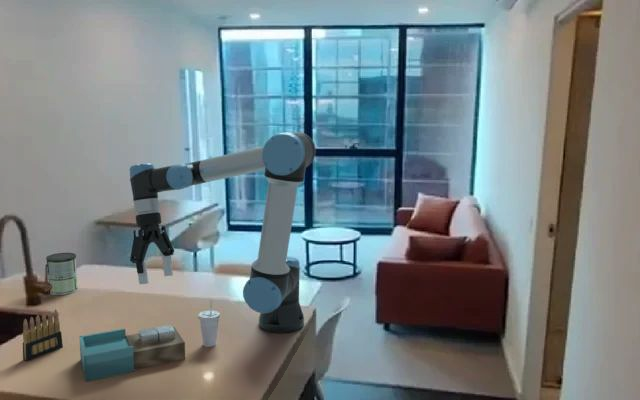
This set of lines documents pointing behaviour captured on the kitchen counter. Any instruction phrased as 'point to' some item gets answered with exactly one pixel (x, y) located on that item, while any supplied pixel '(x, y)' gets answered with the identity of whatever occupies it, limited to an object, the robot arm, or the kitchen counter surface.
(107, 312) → the kitchen counter surface
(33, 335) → the ammunition clip
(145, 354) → the olive-brown boxy piece
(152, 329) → the chip
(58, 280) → the coffee can
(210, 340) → the smoothie
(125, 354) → the tray
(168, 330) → the chip
